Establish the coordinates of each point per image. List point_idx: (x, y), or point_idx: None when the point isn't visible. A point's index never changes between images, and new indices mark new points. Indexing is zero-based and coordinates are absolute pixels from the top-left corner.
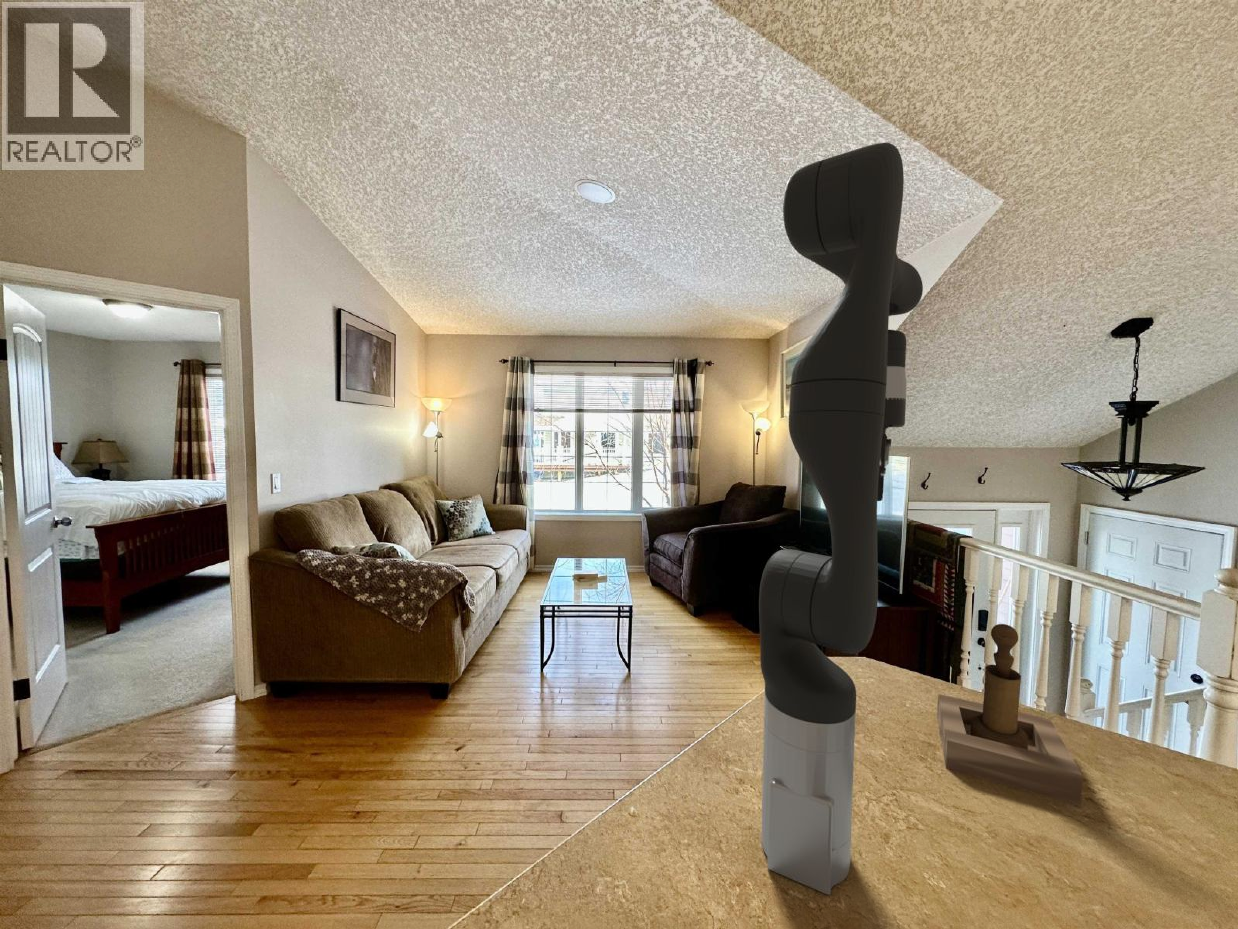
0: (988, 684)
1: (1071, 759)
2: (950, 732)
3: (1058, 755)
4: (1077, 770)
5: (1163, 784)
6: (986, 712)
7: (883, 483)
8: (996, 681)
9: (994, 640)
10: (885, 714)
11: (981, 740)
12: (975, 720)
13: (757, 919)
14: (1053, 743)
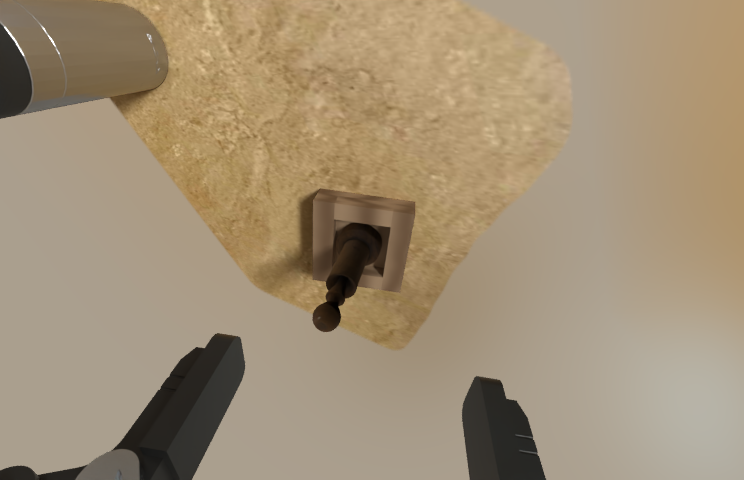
0: (338, 265)
1: None
2: (330, 206)
3: None
4: (318, 279)
5: (374, 320)
6: (347, 247)
7: (470, 472)
8: (329, 274)
9: (323, 303)
10: (400, 148)
11: (328, 228)
12: (360, 234)
13: None
14: None
